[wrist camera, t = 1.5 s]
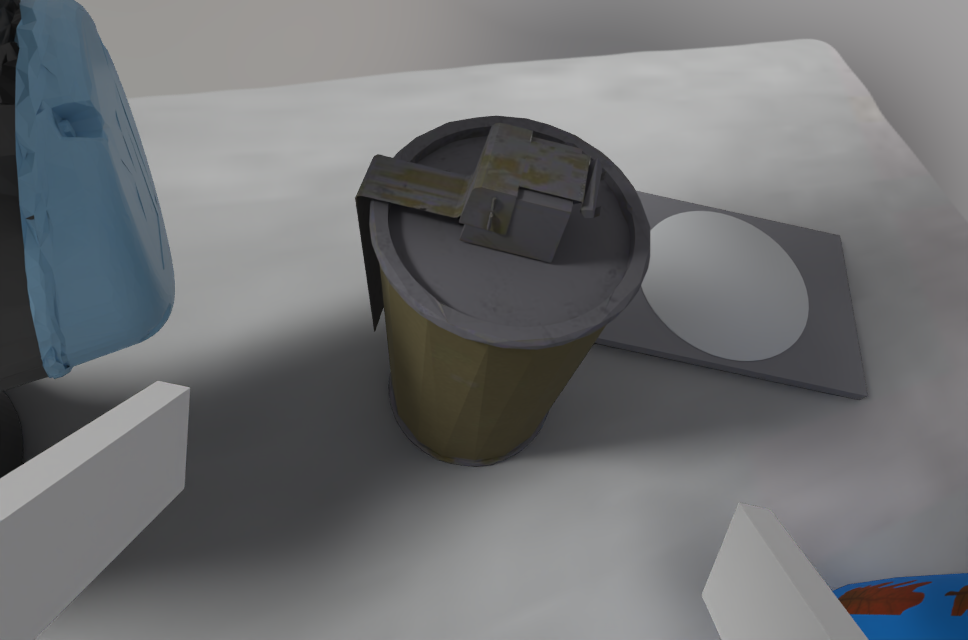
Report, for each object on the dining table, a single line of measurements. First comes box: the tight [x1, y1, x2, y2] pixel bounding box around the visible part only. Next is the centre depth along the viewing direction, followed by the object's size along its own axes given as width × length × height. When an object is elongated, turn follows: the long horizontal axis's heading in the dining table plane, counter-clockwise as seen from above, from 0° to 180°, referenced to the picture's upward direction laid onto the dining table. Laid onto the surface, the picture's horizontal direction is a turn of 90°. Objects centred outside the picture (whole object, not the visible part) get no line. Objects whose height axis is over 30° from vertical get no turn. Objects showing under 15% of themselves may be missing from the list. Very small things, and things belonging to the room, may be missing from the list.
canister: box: [355, 116, 650, 467], centre depth 26 cm, size 11×10×20 cm
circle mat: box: [595, 191, 868, 400], centre depth 41 cm, size 20×14×1 cm
